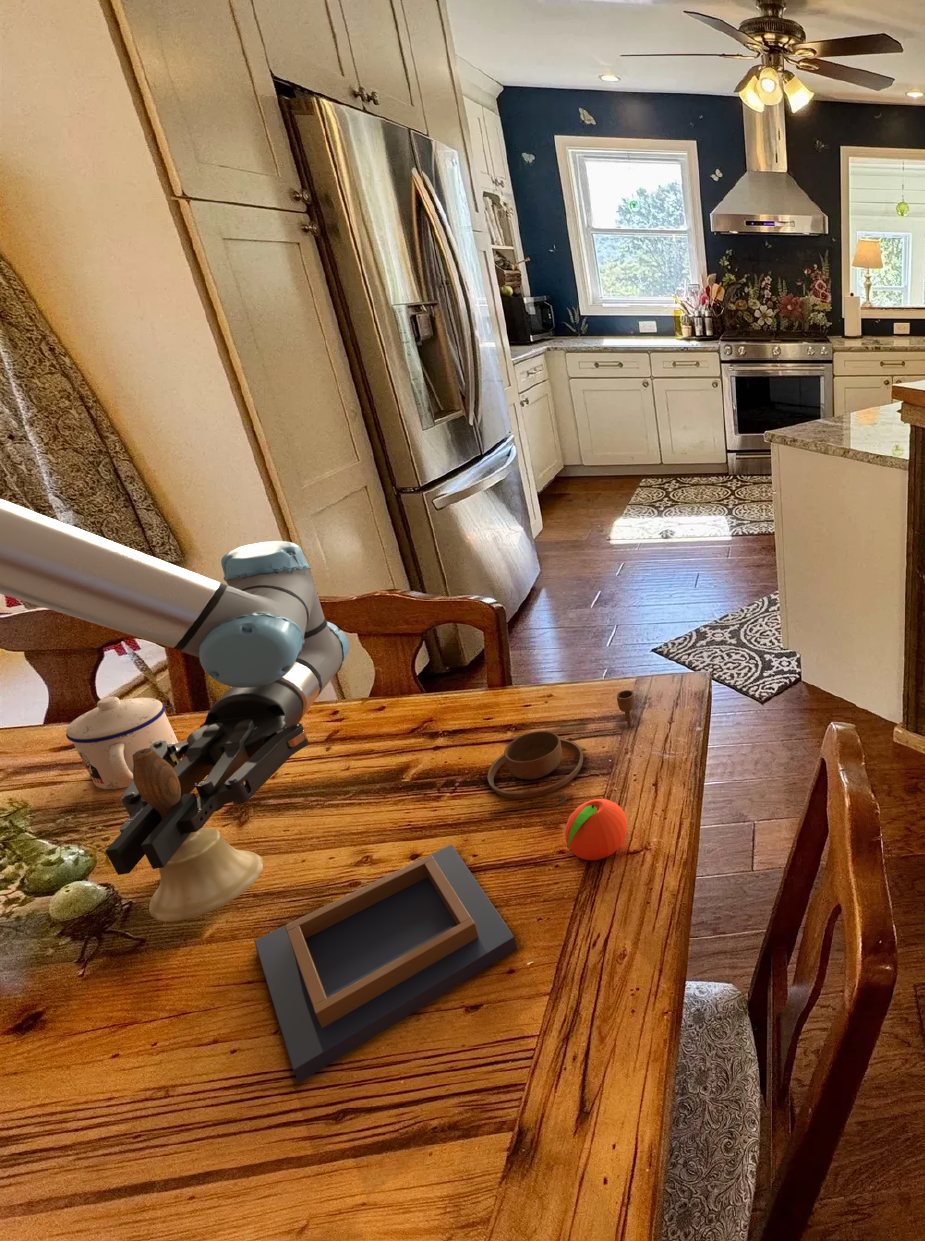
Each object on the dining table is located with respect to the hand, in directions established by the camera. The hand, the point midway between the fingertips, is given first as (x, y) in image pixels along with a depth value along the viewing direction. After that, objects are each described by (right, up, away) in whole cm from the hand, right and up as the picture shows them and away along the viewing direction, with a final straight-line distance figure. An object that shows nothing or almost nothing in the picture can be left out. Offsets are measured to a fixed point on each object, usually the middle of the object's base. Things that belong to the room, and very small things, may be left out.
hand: (135, 858), depth 60 cm
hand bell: (-2, -6, +9) cm, 11 cm away
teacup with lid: (-37, -3, +35) cm, 51 cm away
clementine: (+29, -10, +25) cm, 40 cm away
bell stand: (+13, -15, +12) cm, 23 cm away
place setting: (+19, -3, +40) cm, 44 cm away
